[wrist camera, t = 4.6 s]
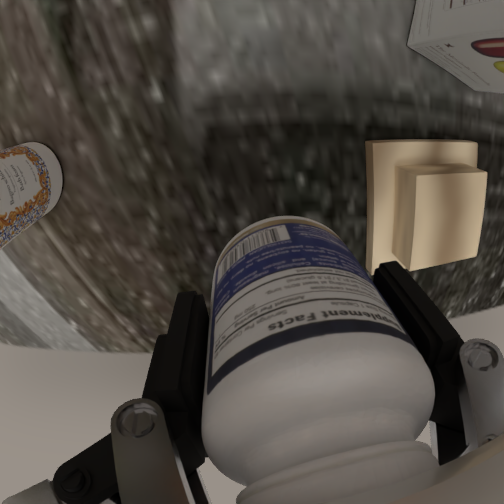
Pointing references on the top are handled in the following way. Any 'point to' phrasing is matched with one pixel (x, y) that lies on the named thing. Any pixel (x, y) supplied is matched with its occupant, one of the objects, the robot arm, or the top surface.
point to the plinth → (385, 184)
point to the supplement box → (462, 39)
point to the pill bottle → (309, 371)
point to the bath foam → (26, 187)
